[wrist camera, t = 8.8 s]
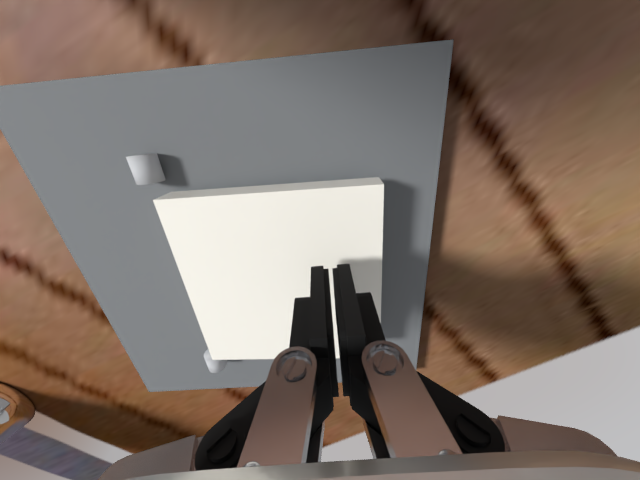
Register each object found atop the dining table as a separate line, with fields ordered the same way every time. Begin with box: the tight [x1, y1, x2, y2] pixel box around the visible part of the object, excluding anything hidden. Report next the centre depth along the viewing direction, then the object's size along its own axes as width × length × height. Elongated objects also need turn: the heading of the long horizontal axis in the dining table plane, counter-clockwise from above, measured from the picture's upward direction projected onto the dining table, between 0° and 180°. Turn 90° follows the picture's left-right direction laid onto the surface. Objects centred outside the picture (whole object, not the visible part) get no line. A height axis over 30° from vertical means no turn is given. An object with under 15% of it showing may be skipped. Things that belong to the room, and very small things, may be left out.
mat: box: [0, 40, 453, 392], centre depth 15 cm, size 20×20×2 cm
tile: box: [153, 177, 384, 360], centre depth 14 cm, size 10×2×10 cm
